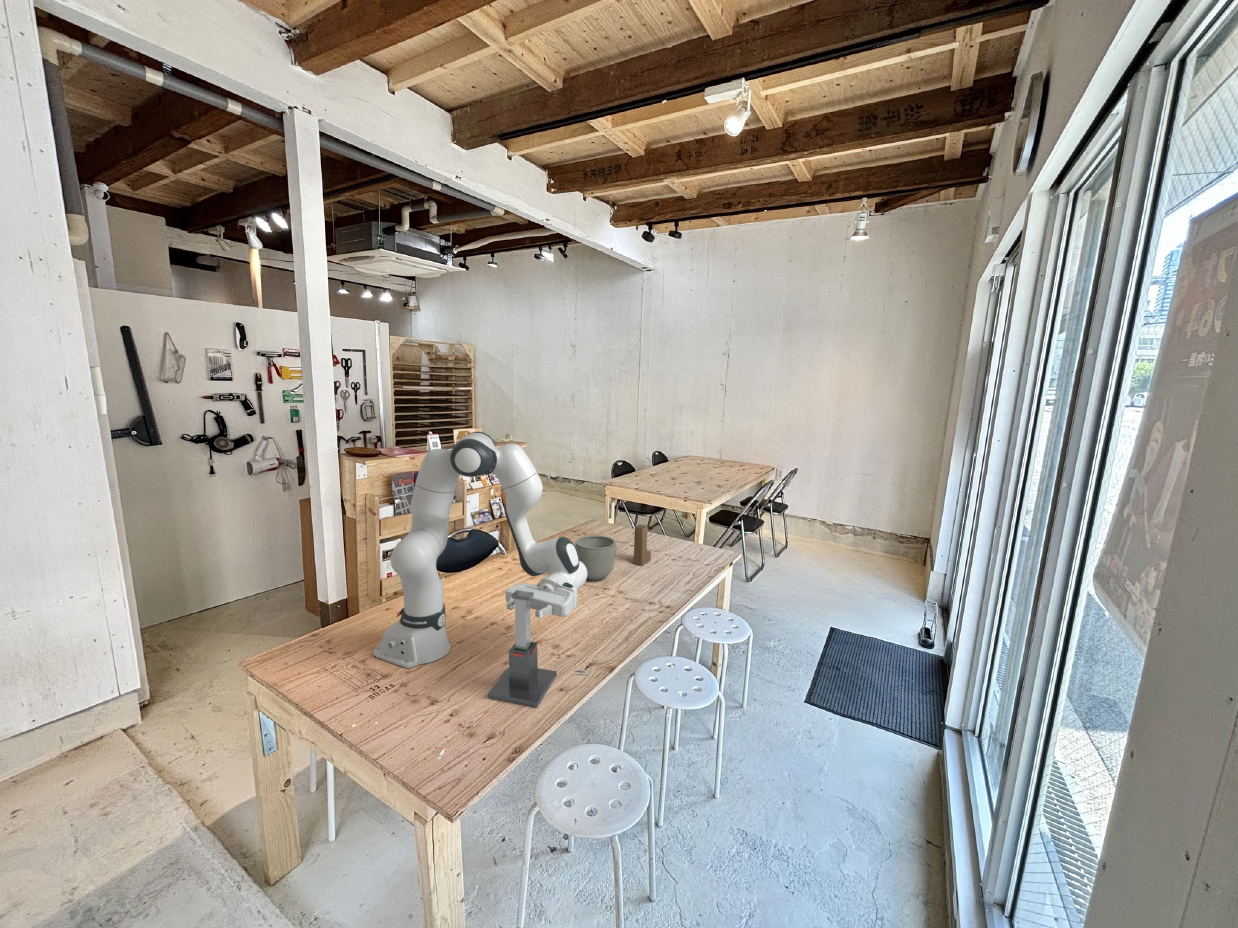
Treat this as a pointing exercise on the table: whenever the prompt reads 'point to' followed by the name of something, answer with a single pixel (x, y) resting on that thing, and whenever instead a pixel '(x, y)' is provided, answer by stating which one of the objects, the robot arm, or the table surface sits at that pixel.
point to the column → (522, 619)
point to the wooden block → (641, 546)
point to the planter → (596, 555)
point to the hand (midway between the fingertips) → (522, 610)
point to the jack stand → (523, 679)
